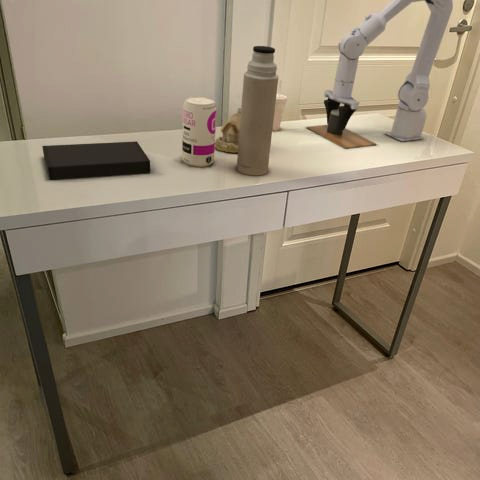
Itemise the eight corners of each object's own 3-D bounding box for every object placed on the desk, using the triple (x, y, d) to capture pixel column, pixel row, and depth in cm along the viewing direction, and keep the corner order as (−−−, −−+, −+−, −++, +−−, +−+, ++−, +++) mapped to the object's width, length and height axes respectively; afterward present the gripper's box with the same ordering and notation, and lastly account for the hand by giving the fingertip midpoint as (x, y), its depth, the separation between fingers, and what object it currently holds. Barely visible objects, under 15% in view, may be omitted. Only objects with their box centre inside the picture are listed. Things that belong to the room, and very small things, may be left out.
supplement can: (218, 159, 132) (221, 99, 123) (206, 169, 126) (209, 107, 116) (190, 154, 134) (191, 94, 125) (177, 163, 127) (177, 101, 118)
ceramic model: (230, 135, 149) (232, 99, 143) (264, 143, 145) (268, 107, 139) (208, 148, 138) (209, 110, 132) (244, 157, 135) (248, 118, 129)
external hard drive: (150, 173, 121) (150, 160, 119) (49, 180, 113) (47, 167, 111) (137, 152, 131) (136, 141, 129) (43, 157, 123) (41, 145, 122)
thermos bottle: (230, 167, 128) (238, 44, 111) (251, 161, 133) (263, 42, 116) (252, 177, 124) (264, 51, 107) (274, 171, 129) (289, 49, 112)
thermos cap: (336, 129, 161) (339, 108, 158) (345, 133, 158) (350, 113, 154) (323, 130, 159) (327, 109, 155) (333, 135, 156) (337, 114, 152)
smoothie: (283, 132, 155) (290, 84, 146) (263, 131, 155) (268, 82, 146) (282, 126, 160) (288, 79, 151) (262, 124, 160) (267, 77, 151)
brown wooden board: (335, 125, 166) (336, 124, 166) (376, 145, 153) (376, 143, 152) (306, 128, 161) (306, 126, 161) (345, 148, 148) (345, 147, 147)
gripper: (319, 75, 153) (311, 121, 161) (349, 86, 143) (339, 135, 151) (337, 74, 156) (329, 119, 164) (368, 86, 146) (357, 133, 154)
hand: (335, 127), depth 158 cm, fingers closed on thermos cap, 5 cm apart
